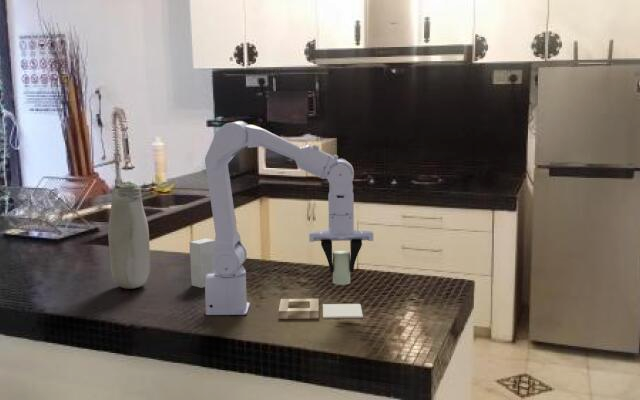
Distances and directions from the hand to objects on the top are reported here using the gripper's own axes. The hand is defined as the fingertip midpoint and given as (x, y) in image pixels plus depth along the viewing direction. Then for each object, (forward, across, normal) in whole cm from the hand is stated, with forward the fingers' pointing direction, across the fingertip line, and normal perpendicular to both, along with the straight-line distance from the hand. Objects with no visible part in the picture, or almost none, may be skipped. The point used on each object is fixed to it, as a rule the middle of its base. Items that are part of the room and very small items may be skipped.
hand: (341, 271), depth 153 cm
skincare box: (+10, -36, +24) cm, 44 cm away
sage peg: (+3, 0, 0) cm, 3 cm away
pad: (+10, 0, 0) cm, 10 cm away
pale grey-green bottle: (+10, -55, +22) cm, 60 cm away
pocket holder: (+10, -10, 0) cm, 14 cm away
